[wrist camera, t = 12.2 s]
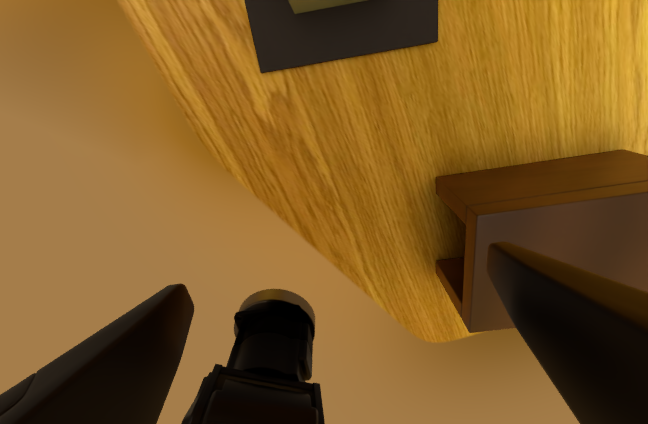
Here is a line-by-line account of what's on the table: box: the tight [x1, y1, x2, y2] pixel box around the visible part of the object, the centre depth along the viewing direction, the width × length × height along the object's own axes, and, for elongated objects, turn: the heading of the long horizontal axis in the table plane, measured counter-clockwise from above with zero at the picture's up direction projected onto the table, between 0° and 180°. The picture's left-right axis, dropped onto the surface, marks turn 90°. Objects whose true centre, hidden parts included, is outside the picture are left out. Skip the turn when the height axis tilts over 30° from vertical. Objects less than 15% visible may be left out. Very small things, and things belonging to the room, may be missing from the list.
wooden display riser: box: [436, 150, 648, 333], centre depth 19 cm, size 12×8×6 cm, turn 99°
